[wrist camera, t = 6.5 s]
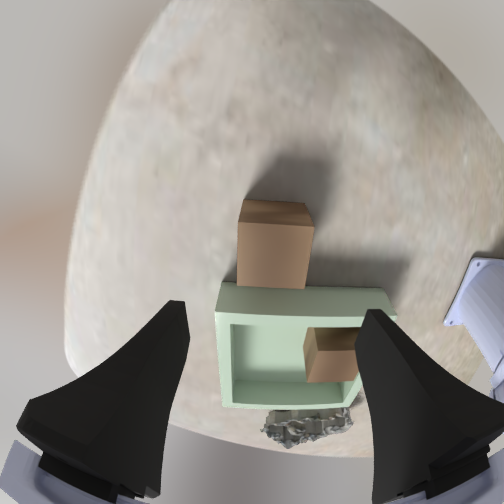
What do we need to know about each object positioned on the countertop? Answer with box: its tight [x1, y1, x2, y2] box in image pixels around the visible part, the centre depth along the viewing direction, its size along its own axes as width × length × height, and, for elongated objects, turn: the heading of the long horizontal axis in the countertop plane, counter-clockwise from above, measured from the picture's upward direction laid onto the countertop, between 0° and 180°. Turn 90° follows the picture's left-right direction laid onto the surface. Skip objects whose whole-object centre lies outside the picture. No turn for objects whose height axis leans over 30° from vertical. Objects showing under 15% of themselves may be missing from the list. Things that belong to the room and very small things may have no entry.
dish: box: [215, 282, 398, 410], centre depth 22 cm, size 13×13×4 cm
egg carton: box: [260, 407, 354, 449], centre depth 29 cm, size 11×8×4 cm
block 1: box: [237, 199, 314, 289], centre depth 17 cm, size 4×4×4 cm
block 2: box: [303, 327, 361, 383], centre depth 20 cm, size 4×4×4 cm
